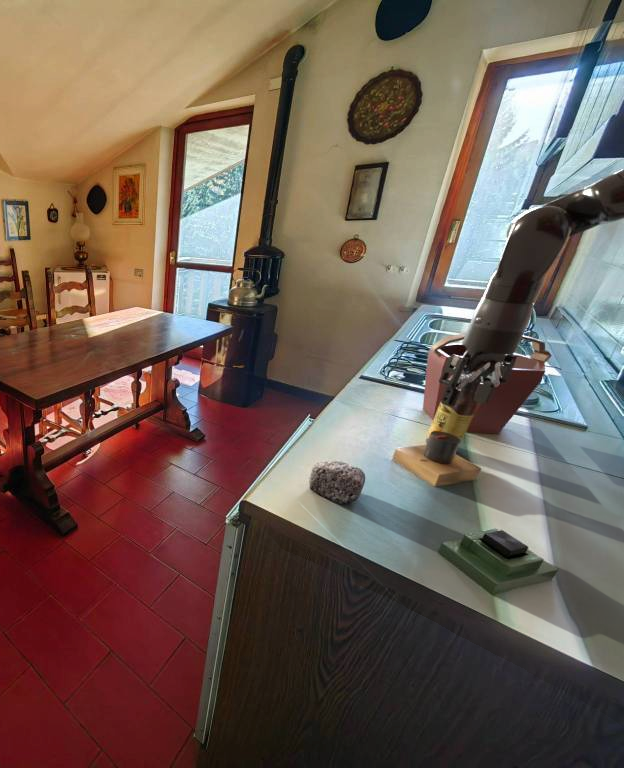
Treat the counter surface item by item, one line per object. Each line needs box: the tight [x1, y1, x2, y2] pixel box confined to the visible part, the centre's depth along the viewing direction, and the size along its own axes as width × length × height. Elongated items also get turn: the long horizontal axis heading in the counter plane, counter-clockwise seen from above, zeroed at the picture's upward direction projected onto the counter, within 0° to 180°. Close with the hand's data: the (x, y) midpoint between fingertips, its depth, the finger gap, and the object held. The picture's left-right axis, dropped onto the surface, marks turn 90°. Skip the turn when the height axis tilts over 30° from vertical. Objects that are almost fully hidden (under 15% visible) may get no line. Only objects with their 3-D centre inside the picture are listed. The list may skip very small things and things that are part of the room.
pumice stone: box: [308, 460, 366, 505], centre depth 75 cm, size 10×8×10 cm
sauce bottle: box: [425, 371, 481, 448], centre depth 90 cm, size 6×6×20 cm
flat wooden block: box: [391, 444, 482, 487], centre depth 84 cm, size 11×10×3 cm
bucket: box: [422, 332, 552, 435], centre depth 102 cm, size 24×22×25 cm
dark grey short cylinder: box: [423, 431, 462, 464], centre depth 83 cm, size 5×5×6 cm
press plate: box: [481, 529, 530, 559], centre depth 59 cm, size 4×4×2 cm
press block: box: [437, 528, 559, 596], centre depth 60 cm, size 12×8×4 cm, turn 103°
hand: (463, 403), depth 78 cm, fingers open, 8 cm apart
